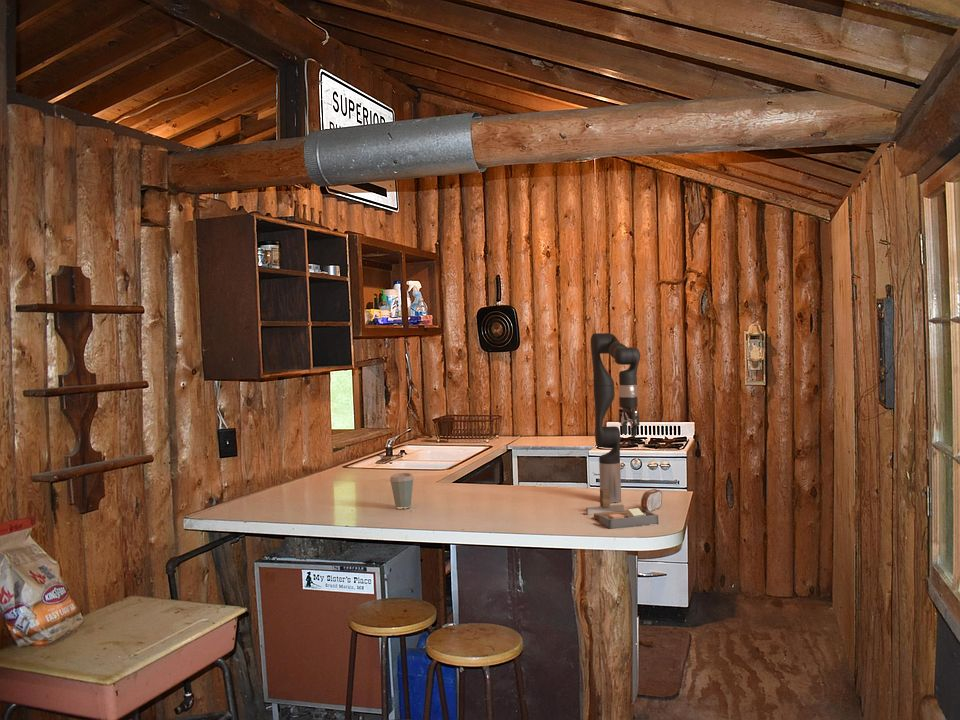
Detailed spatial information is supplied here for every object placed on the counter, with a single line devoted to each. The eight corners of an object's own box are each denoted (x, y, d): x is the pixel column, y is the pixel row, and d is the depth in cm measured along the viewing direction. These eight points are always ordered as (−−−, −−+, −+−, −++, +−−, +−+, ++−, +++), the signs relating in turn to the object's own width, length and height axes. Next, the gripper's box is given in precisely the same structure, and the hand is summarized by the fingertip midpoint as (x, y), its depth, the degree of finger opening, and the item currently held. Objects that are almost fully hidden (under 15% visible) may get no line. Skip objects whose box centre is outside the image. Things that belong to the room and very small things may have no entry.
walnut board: (593, 518, 309) (593, 513, 308) (632, 514, 313) (632, 509, 313) (603, 523, 299) (603, 518, 299) (643, 519, 303) (643, 514, 303)
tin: (657, 506, 327) (656, 487, 327) (663, 507, 325) (663, 487, 325) (640, 513, 316) (639, 492, 316) (647, 514, 314) (646, 493, 314)
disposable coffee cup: (410, 510, 334) (409, 476, 334) (387, 510, 336) (386, 476, 336) (417, 505, 344) (416, 472, 344) (394, 505, 347) (393, 472, 346)
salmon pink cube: (608, 522, 299) (608, 514, 299) (618, 521, 300) (618, 513, 300) (613, 524, 294) (613, 517, 294) (624, 523, 296) (624, 516, 296)
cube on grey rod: (585, 514, 317) (585, 490, 317) (621, 511, 321) (620, 487, 321) (588, 516, 314) (587, 491, 314) (624, 512, 318) (623, 488, 318)
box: (599, 523, 298) (599, 515, 298) (647, 519, 304) (647, 510, 304) (609, 529, 290) (609, 519, 290) (658, 524, 295) (658, 515, 295)
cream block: (627, 515, 302) (628, 509, 300) (636, 514, 303) (638, 507, 302) (632, 522, 298) (634, 515, 296) (642, 520, 299) (644, 514, 298)
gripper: (612, 395, 322) (613, 433, 323) (627, 397, 309) (628, 437, 309) (628, 394, 324) (630, 432, 324) (644, 396, 310) (645, 436, 311)
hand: (629, 435), depth 317 cm, fingers open, 8 cm apart
